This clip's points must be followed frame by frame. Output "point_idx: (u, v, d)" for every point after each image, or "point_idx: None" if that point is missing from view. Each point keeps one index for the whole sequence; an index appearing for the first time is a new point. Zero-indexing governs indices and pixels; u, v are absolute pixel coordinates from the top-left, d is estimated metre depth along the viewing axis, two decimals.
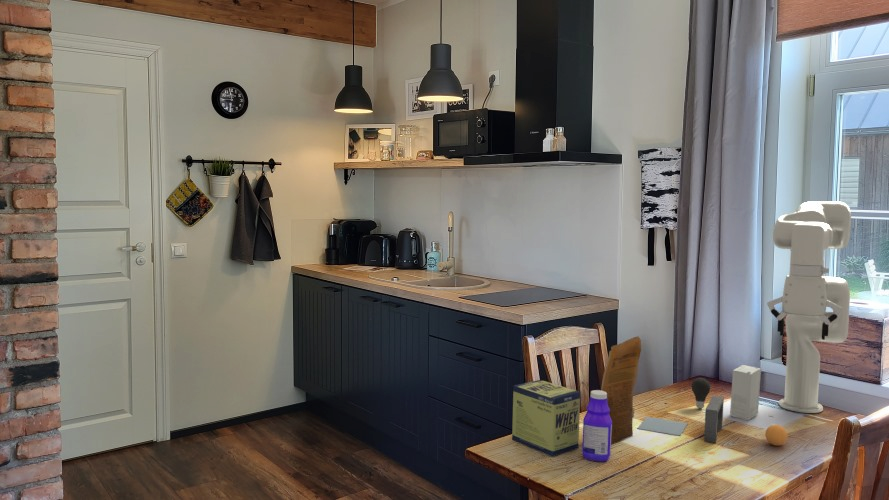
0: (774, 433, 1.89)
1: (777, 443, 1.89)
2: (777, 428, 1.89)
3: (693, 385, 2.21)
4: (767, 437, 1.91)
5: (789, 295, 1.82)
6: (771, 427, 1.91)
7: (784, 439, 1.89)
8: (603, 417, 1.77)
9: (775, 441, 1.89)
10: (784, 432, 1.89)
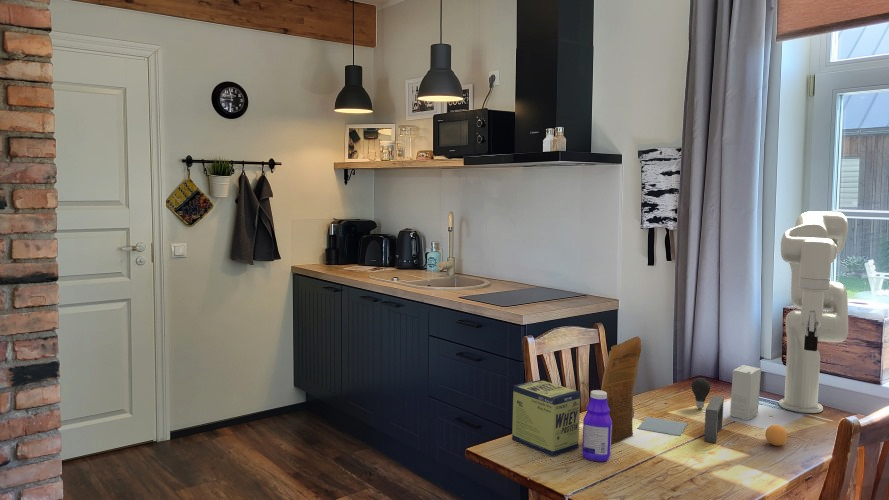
0: (774, 433, 1.89)
1: (777, 443, 1.89)
2: (777, 428, 1.89)
3: (693, 385, 2.21)
4: (767, 437, 1.91)
5: (822, 309, 1.90)
6: (771, 427, 1.91)
7: (784, 439, 1.89)
8: (603, 417, 1.77)
9: (775, 441, 1.89)
10: (784, 432, 1.89)
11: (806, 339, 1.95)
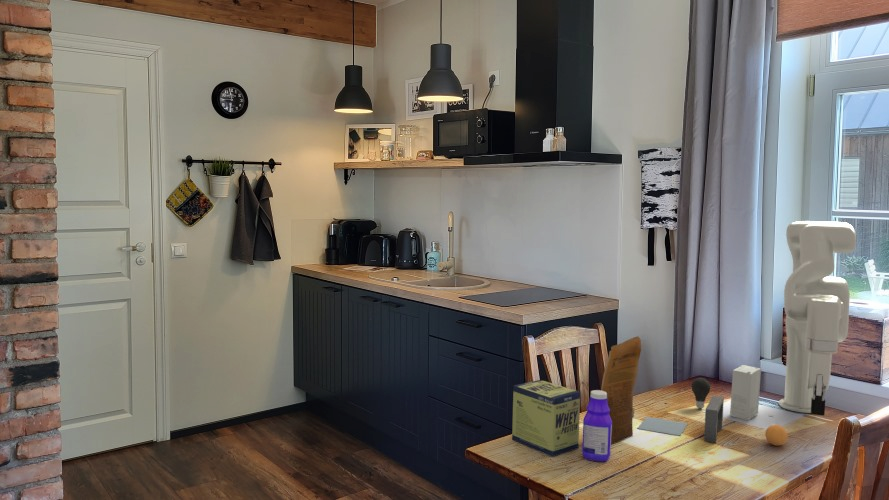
0: (774, 433, 1.89)
1: (777, 443, 1.89)
2: (777, 428, 1.89)
3: (693, 385, 2.21)
4: (767, 437, 1.91)
5: (829, 372, 1.81)
6: (771, 427, 1.91)
7: (784, 439, 1.89)
8: (603, 417, 1.77)
9: (775, 441, 1.89)
10: (784, 432, 1.89)
11: (813, 402, 1.85)
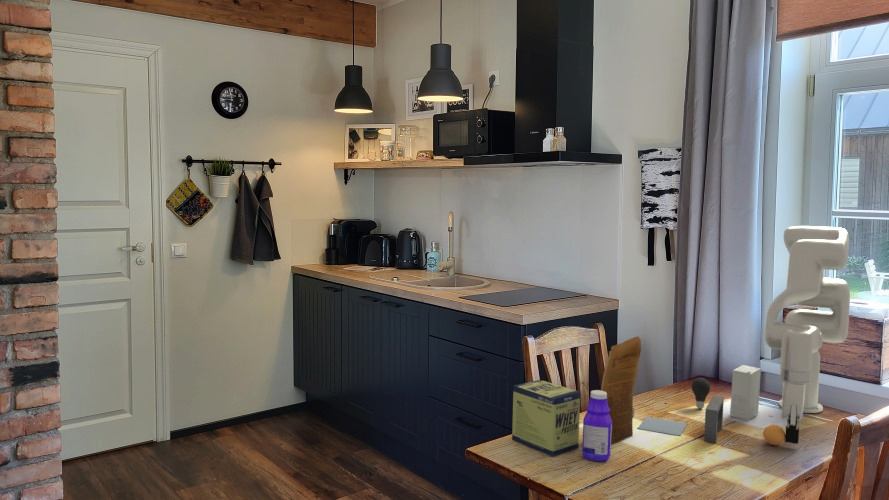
0: (772, 433, 1.89)
1: (775, 443, 1.89)
2: (774, 428, 1.90)
3: (693, 385, 2.21)
4: (765, 437, 1.91)
5: (803, 402, 1.84)
6: (769, 427, 1.91)
7: (782, 438, 1.89)
8: (603, 417, 1.77)
9: (773, 441, 1.89)
10: (782, 431, 1.89)
11: (787, 431, 1.89)
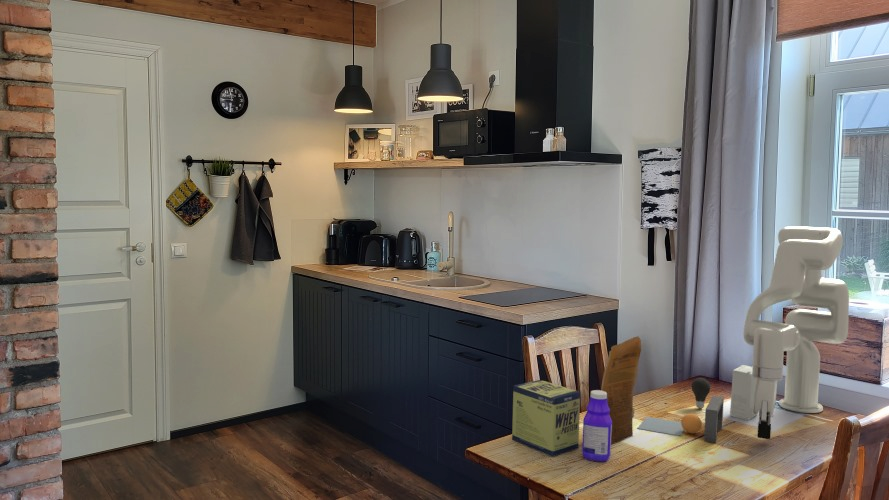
0: (686, 426, 1.98)
1: (696, 426, 1.97)
2: (683, 422, 1.99)
3: (693, 385, 2.21)
4: (690, 432, 1.99)
5: (774, 399, 1.88)
6: (682, 425, 2.00)
7: (693, 419, 1.98)
8: (603, 417, 1.77)
9: (694, 428, 1.97)
10: (687, 417, 1.99)
11: (759, 427, 1.92)
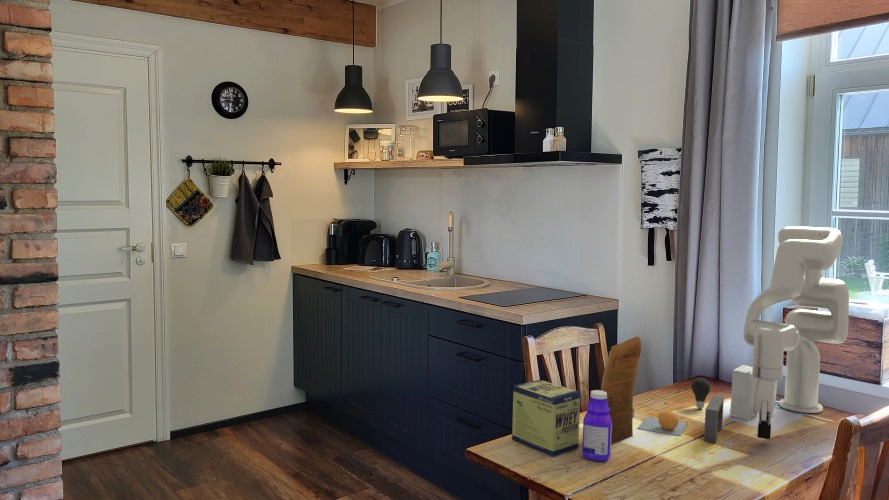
0: (670, 425, 2.00)
1: (663, 417, 2.01)
2: (671, 429, 2.01)
3: (693, 385, 2.21)
4: (673, 417, 2.00)
5: (774, 399, 1.88)
6: (675, 426, 2.01)
7: (660, 423, 2.02)
8: (603, 417, 1.77)
9: (666, 418, 2.00)
10: (664, 428, 2.02)
11: (759, 427, 1.92)
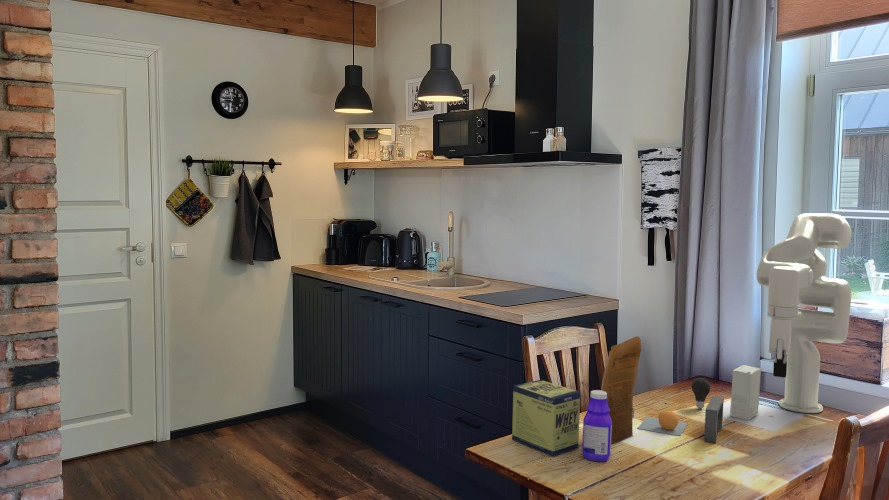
0: (670, 425, 2.00)
1: (663, 417, 2.01)
2: (671, 429, 2.01)
3: (693, 385, 2.21)
4: (673, 417, 2.00)
5: (789, 337, 1.90)
6: (675, 426, 2.01)
7: (660, 423, 2.02)
8: (603, 417, 1.77)
9: (666, 418, 2.00)
10: (664, 428, 2.02)
11: (775, 365, 1.95)
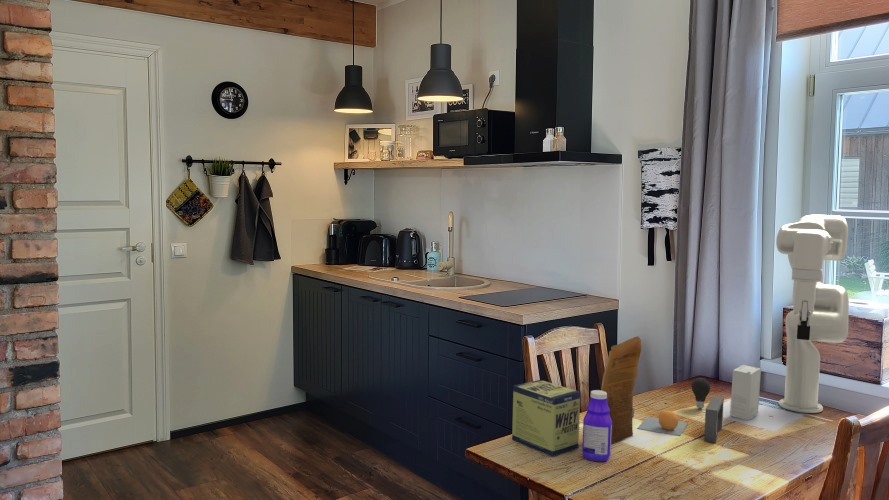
0: (670, 425, 2.00)
1: (663, 417, 2.01)
2: (671, 429, 2.01)
3: (693, 385, 2.21)
4: (673, 417, 2.00)
5: (814, 299, 1.95)
6: (675, 426, 2.01)
7: (660, 423, 2.02)
8: (603, 417, 1.77)
9: (666, 418, 2.00)
10: (664, 428, 2.02)
11: (799, 328, 1.99)
